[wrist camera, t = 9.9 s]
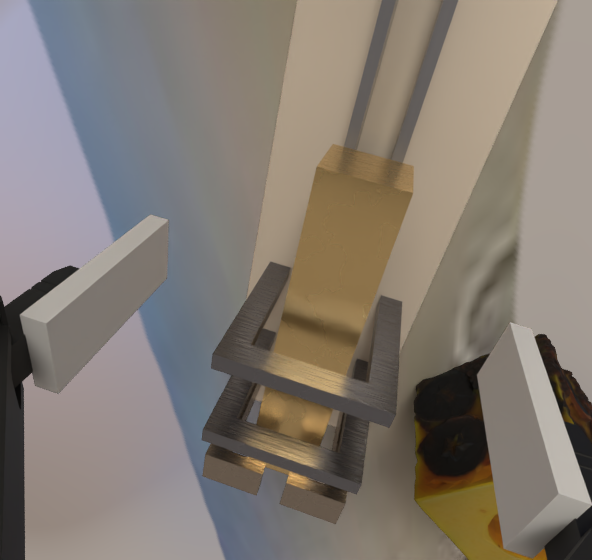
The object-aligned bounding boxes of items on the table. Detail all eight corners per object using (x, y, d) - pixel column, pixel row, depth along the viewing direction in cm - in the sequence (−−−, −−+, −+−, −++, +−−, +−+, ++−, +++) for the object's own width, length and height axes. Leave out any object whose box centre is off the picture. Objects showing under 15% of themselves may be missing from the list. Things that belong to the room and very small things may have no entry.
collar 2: (260, 320, 34) (202, 429, 25) (377, 357, 33) (361, 484, 24) (258, 330, 35) (201, 440, 26) (373, 366, 34) (356, 494, 25)
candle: (544, 328, 29) (594, 452, 21) (608, 427, 32) (676, 571, 23) (410, 381, 34) (408, 498, 26) (476, 462, 37) (493, 592, 28)
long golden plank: (332, 143, 23) (315, 166, 19) (414, 165, 23) (414, 194, 19) (265, 414, 35) (247, 461, 31) (319, 432, 34) (307, 482, 31)
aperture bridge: (256, 351, 36) (205, 454, 28) (363, 386, 35) (345, 503, 27) (252, 371, 37) (202, 476, 29) (355, 406, 37) (335, 524, 28)
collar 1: (273, 256, 31) (212, 354, 22) (402, 295, 30) (395, 414, 21) (271, 267, 32) (210, 368, 22) (398, 306, 31) (389, 427, 22)
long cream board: (354, -309, 17) (343, -370, 15) (667, -256, 16) (717, -312, 13) (233, 385, 39) (220, 411, 36) (363, 428, 38) (359, 459, 35)
